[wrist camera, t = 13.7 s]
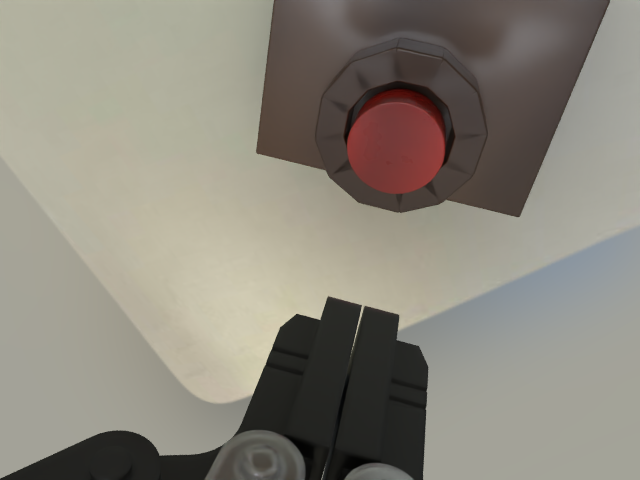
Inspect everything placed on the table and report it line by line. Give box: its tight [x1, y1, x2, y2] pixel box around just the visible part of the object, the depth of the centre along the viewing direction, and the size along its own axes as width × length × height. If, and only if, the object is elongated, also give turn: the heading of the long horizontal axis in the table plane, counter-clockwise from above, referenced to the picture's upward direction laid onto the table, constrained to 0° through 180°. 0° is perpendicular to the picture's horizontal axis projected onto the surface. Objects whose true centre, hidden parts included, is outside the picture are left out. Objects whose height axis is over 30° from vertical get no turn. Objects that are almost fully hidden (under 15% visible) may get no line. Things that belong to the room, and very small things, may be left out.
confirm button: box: [347, 89, 446, 194], centre depth 21 cm, size 4×4×2 cm
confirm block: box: [256, 0, 610, 217], centre depth 23 cm, size 12×9×4 cm
